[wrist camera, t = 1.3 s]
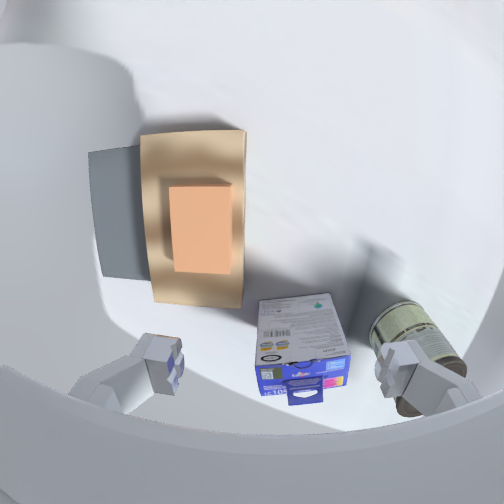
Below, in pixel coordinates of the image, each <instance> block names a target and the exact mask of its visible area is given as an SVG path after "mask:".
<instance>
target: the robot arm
mask: <svg viewBox="0 0 504 504" xmlns="http://www.w3.org/2000/svg"><path fill="white" fill-rule="evenodd" d="M181 348H182V342H181V339H180V338H176V337H169V336H163V335H156V334H149V333H145V334H143V335H142V337H141V338H140V340H139V341H138V343H137V344H136V346H135V347H134V349H133V351H132V352H131V354H130V355H129V356H124V357H122V358H120V359H118V360H115V361H113V362H111V363H109V364H107V365H105V366H103V367H101V368H98V369H96V370H94V371H92V372H90V373H88V374H85V375H83V376H81V377H80V378H79V380H78V381H77V383H76V384H75V385H74V387H73V388H72V389H71V391H70V392H69V394H68V395H67V394H65V393H62V392H60V391H58V390H55V389H53V388H51V387H48V386H46V385H44V384H42V383H40V382H37V381H35V380H33V379H31V378H29V377H27V376H25V375H23V374H21V373H20V372H18V371H16V370H14V369H13V368H11V367H9V366H5V365H2V366H0V504H504V389H503V390H501V391H498V392H496V393H494V394H491V395H489V396H486V397H484V398H483V397H482V395H481V394H480V393H479V391H478V389H477V388H476V387H475V385H474V384H473V382H472V381H470V380H467V379H466V378H464V377H462V376H460V375H458V374H457V373H455V372H453V371H451V370H449V369H447V368H445V367H443V366H442V365H440V364H438V363H436V362H434V361H430V360H429V358H428V357H427V355H426V354H425V352H424V351H423V349H422V348H421V347H420V345H419V344H418V342H417V341H416V340H406V341H400V342H388V343H383V345H382V346H381V349H380V352H381V354H382V355H381V356H380V357H379V358H378V359H377V361H376V364H375V376H376V378H377V380H378V381H380V382H381V383H382V384H381V386H380V388H381V390H382V393H383V395H384V398H390V397H398V396H402V397H403V398H404V399H405V400H406V401H408V402H409V403H410V404H411V405H412V406H413V407H415V408H416V409H417V410H418V411H419V412H421V413H422V414H423V415H424V416H425V417H423V418H419V419H415V420H411V421H407V422H402V423H398V424H393V425H387V426H382V427H376V428H370V429H363V430H355V431H347V432H337V433H326V434H307V435H257V434H256V435H255V434H240V433H227V432H218V431H217V432H216V431H209V430H201V429H194V428H187V427H181V426H175V425H171V424H165V423H160V422H156V421H151V420H147V419H143V418H139V417H135V416H131V415H127V414H128V413H129V412H131V411H132V410H134V409H135V408H136V407H137V406H139V405H140V404H141V403H143V402H144V401H145V400H147V399H148V398H149V397H150V396H152V395H153V394H154V393H160V394H166V395H173V396H174V395H175V393H176V390H177V388H178V385H179V383H178V378H180V377H181V376H182V374H183V369H184V355H183V354H182V353H181V352H180V351H181Z"/></svg>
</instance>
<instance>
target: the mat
mask: <svg viewBox="0 0 504 504" xmlns="http://www.w3.org/2000/svg"><path fill="white" fill-rule="evenodd" d="M88 157H89V178H90V191H91V201H92V210H93V219H94V227H95V234H96V240H97V246H98V252H99V258H100V263H101V268H102V273H103V277H114V278H124V279H135V280H147V281H151V277H150V270H149V262H148V255H147V246H146V237H145V227H144V216H143V203H142V186H141V161H140V146H131V147H123V148H115V149H109V150H101V151H95V152H89V153H88Z"/></svg>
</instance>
